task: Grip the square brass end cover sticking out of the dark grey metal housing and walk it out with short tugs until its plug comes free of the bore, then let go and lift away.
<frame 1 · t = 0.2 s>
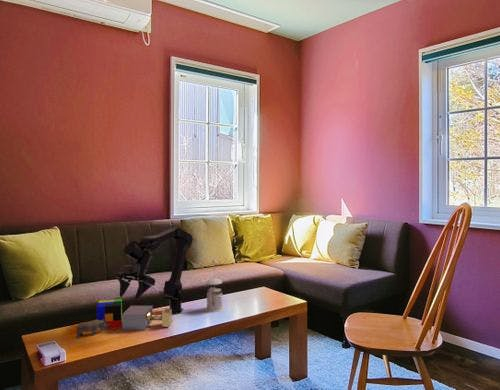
hand: (128, 298, 167), 15 cm above the table, tool tilted 30°, fingers open, 9 cm apart
puzzle toy: (109, 325, 177), on the table
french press: (214, 309, 198), on the table
rhino figurine: (93, 334, 166), on the table
housing: (138, 325, 176), on the table
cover: (151, 317, 176), point 4 cm above the table, slide at 0.0 cm
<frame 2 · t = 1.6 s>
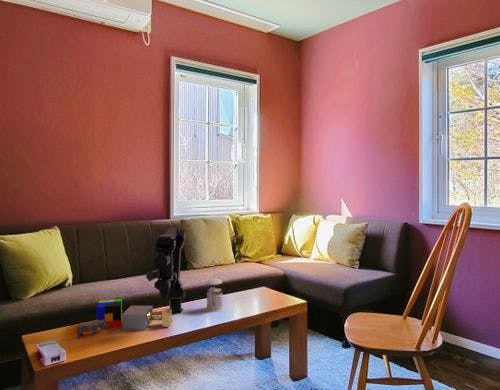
hand: (166, 298, 176), 12 cm above the table, tool pointing down, fingers open, 9 cm apart
nothing on the table moved.
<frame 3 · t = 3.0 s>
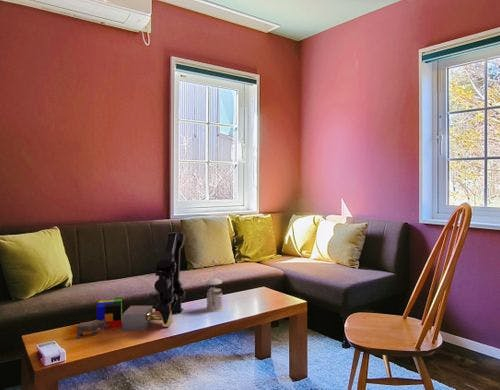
hand: (166, 321, 176), 2 cm above the table, tool pointing down, fingers closed on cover, 6 cm apart
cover: (151, 317, 176), point 4 cm above the table, slide at 0.0 cm, touching gripper
everything else where it was.
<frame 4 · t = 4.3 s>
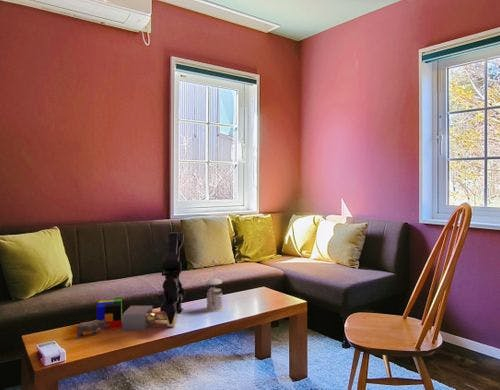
hand: (172, 321, 176), 2 cm above the table, tool pointing down, fingers closed on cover, 6 cm apart
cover: (156, 317, 176), point 3 cm above the table, slide at 2.3 cm, touching gripper
everything else where it was.
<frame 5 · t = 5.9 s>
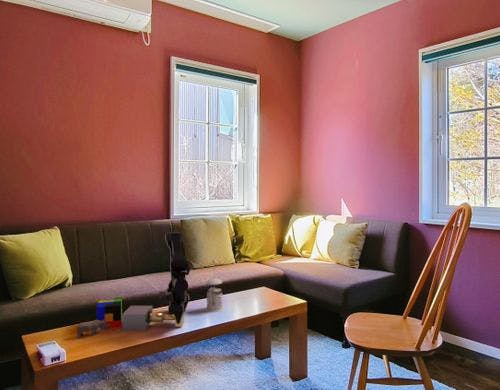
hand: (179, 321, 176), 2 cm above the table, tool pointing down, fingers closed on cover, 6 cm apart
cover: (163, 317, 176), point 4 cm above the table, slide at 5.6 cm, touching gripper
everything else where it was.
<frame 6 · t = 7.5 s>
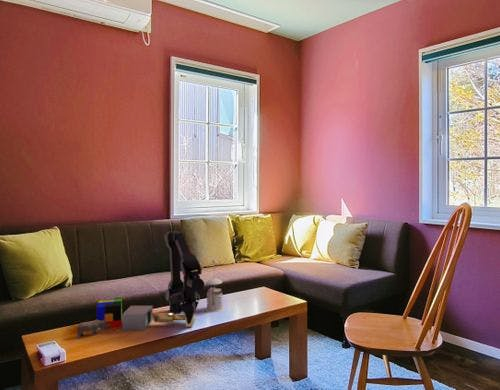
hand: (190, 321, 176), 2 cm above the table, tool pointing down, fingers closed on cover, 6 cm apart
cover: (174, 317, 176), point 4 cm above the table, slide at 10.3 cm, touching gripper
everything else where it was.
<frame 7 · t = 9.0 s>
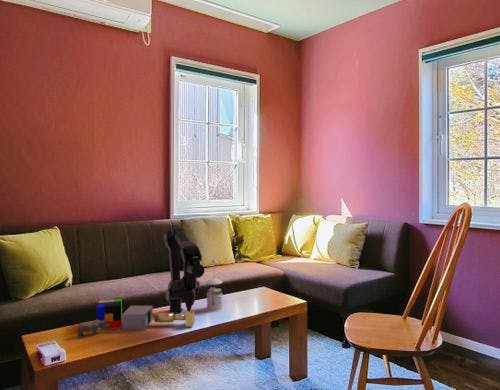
hand: (190, 308, 176), 8 cm above the table, tool pointing down, fingers open, 9 cm apart
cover: (174, 317, 176), point 4 cm above the table, slide at 10.3 cm
everything else where it was.
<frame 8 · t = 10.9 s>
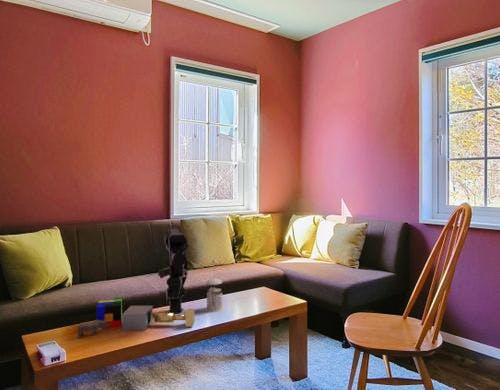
hand: (177, 295, 181), 12 cm above the table, tool pointing down, fingers open, 9 cm apart
nothing on the table moved.
at the end: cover slide at 10.3 cm; the gripper is holding nothing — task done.
